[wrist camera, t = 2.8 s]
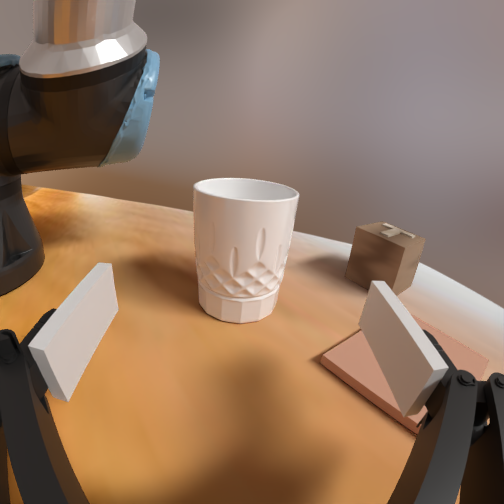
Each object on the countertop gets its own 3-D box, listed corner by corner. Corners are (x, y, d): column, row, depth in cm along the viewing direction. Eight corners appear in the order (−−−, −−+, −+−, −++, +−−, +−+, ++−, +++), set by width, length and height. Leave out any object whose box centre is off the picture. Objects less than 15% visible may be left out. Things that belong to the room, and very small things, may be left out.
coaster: (320, 362, 19) (322, 354, 19) (393, 312, 25) (396, 305, 25) (441, 451, 11) (448, 444, 11) (484, 366, 18) (489, 359, 17)
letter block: (343, 276, 32) (355, 224, 29) (370, 265, 35) (381, 219, 33) (388, 301, 27) (405, 245, 25) (410, 286, 31) (426, 237, 28)
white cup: (282, 284, 29) (297, 184, 25) (280, 335, 22) (301, 206, 18) (204, 274, 30) (208, 175, 26) (180, 320, 22) (178, 193, 18)
